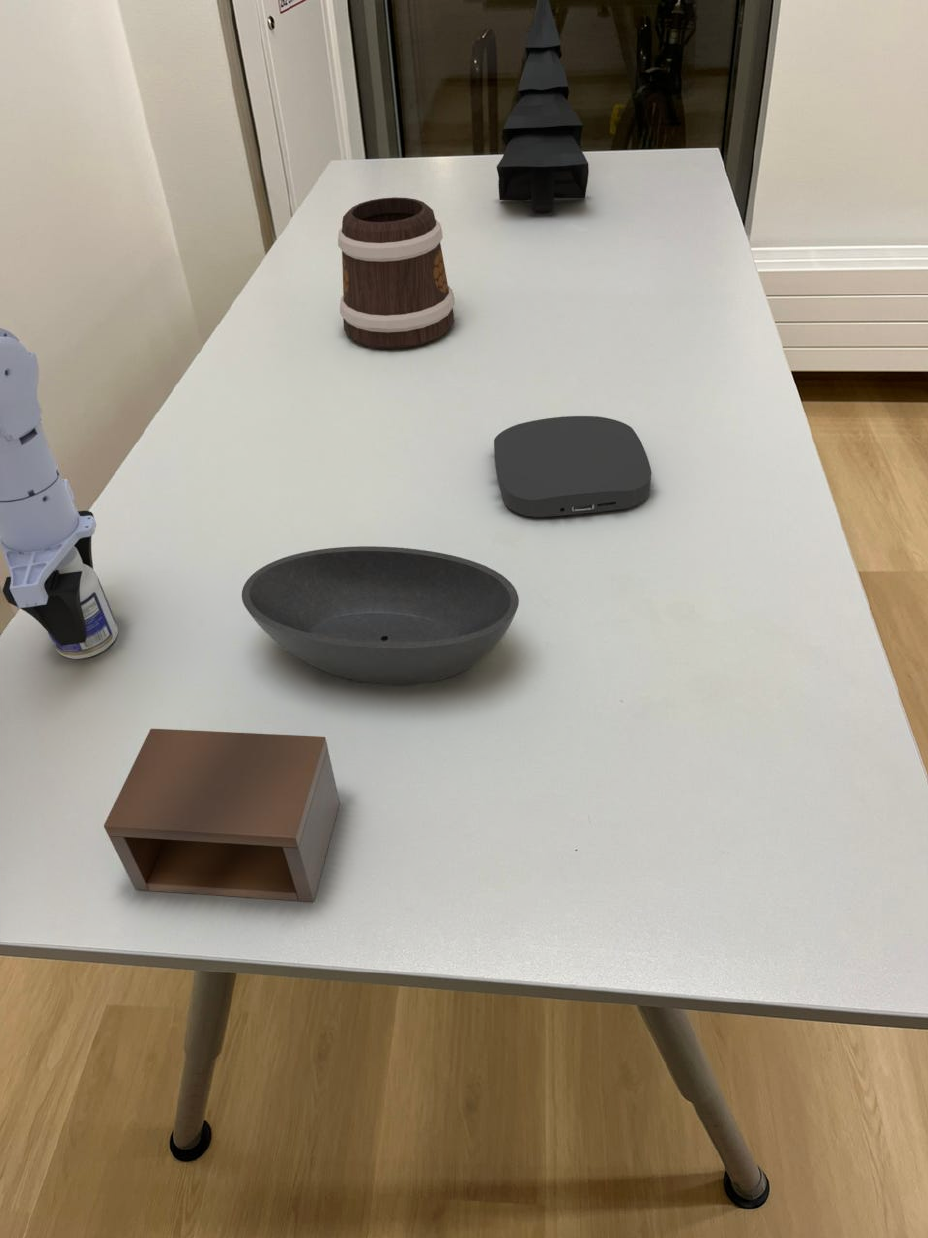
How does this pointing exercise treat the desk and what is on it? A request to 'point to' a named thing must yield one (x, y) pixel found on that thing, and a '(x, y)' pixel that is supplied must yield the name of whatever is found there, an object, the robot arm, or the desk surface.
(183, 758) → the shelf
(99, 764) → the desk surface
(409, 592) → the bowl
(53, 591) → the robot arm
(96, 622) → the pill bottle
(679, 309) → the desk surface
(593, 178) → the desk surface
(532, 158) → the decorative tree
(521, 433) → the media streaming box
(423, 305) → the mug
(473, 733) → the desk surface
